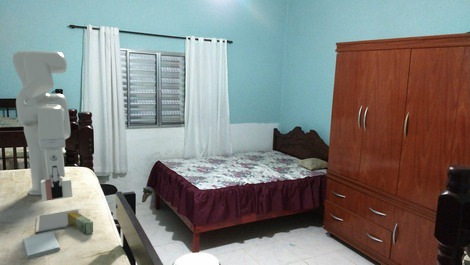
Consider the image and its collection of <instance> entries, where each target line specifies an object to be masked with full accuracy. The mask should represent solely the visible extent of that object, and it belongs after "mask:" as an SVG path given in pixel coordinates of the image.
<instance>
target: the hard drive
mask: <svg viewBox="0 0 470 265" xmlns="http://www.w3.org/2000/svg"><path fill="white" fill-rule="evenodd" d="M22 240H23V245H24V249H25V254H26V256H27V257H26V258H27V260H30V259H32V258H36V257H41V256H44V255H48V254H51V253H55V252H60V251H61V247H60V244H59V242H58V239H57V237H56V236H55V233H54V232H53V231H48V232H43V233H39V234H38V235H37V234H35V235H32V236H28V237H25V238H23V239H22Z"/></svg>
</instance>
